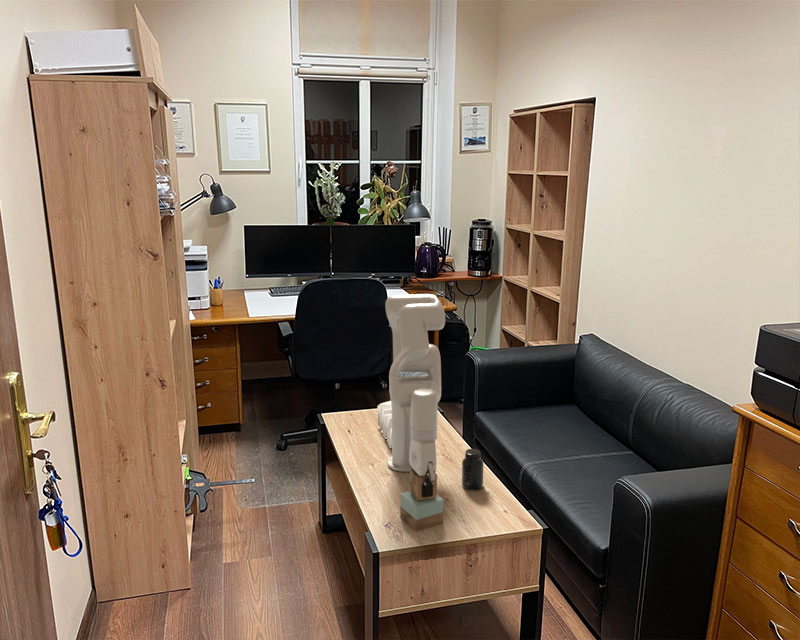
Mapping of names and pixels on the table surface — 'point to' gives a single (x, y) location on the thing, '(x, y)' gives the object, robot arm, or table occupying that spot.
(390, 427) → the wavy white extrusion
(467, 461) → the supplement bottle
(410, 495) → the tower top slab
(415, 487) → the walnut block
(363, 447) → the table surface
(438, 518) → the tower base slab
